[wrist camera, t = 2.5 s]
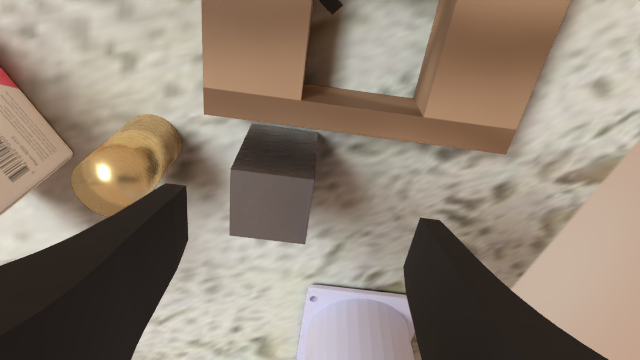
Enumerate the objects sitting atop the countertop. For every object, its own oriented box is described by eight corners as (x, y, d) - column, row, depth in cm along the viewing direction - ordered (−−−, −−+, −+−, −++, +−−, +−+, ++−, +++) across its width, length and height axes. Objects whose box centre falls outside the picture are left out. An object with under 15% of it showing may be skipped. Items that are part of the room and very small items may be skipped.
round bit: (182, 168, 22) (146, 221, 17) (128, 161, 22) (78, 213, 17) (179, 118, 20) (139, 163, 16) (121, 110, 20) (64, 154, 16)
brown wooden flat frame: (487, 132, 20) (505, 154, 18) (218, 96, 20) (204, 114, 17) (554, -43, 16) (588, -42, 14) (217, -96, 16) (199, -104, 13)
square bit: (310, 187, 22) (305, 244, 18) (249, 180, 22) (229, 235, 18) (317, 132, 20) (314, 180, 16) (251, 123, 20) (230, 169, 16)
